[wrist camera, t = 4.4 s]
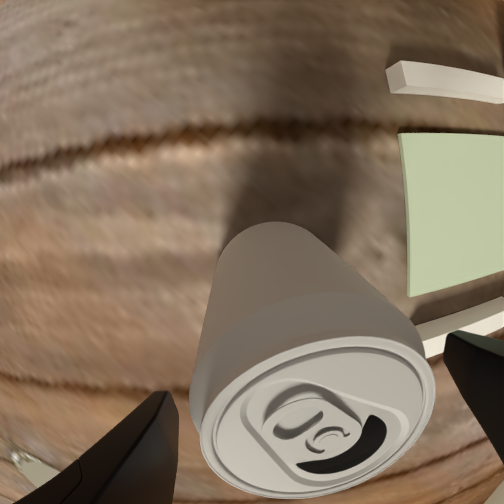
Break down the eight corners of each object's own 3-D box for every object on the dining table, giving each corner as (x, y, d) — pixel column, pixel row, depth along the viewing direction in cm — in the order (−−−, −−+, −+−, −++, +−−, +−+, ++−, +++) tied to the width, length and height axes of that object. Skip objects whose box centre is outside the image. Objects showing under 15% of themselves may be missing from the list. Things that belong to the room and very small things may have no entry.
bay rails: (498, 312, 19) (513, 322, 17) (403, 346, 19) (416, 361, 17) (493, 84, 15) (511, 80, 13) (385, 69, 15) (400, 60, 13)
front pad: (505, 266, 18) (508, 268, 18) (406, 295, 18) (409, 297, 18) (503, 136, 16) (506, 136, 15) (397, 133, 16) (400, 133, 15)
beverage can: (270, 345, 19) (303, 522, 7) (191, 275, 17) (125, 441, 6) (349, 274, 18) (477, 407, 6) (274, 193, 16) (362, 244, 5)
